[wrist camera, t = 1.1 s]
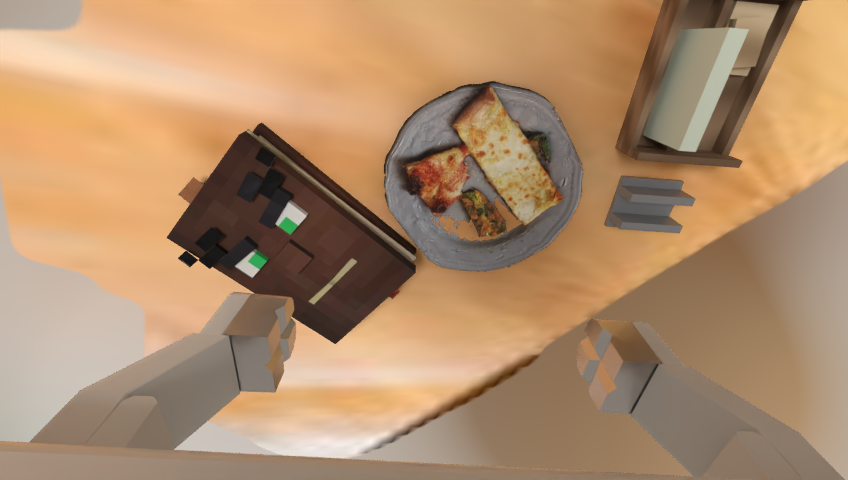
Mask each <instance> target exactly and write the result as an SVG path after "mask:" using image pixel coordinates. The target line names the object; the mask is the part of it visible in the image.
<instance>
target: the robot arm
mask: <svg viewBox="0 0 848 480" xmlns="http://www.w3.org/2000/svg"><path fill="white" fill-rule="evenodd" d="M293 312H294V302H293V299H292V298H291V297H285V296H274V295H264V294H251V293H239V292H234V293H231V294H230V295H229V296H228V297H227V298H226V300H225V301H224V302H223V303H222V305H221V306H220V307H219V309H218V310H217V311H216V312H215V314H214V315H213V316H212V318H211V319H210V320H209V322H208V323H207V324H206V325H205V327H204V328H203V329H202V331H201V332H200V333H192V334H191V335H189V336H187V337H185V338H183V339H181V340H179V341H177V342H175V343H173V344H171V345H169V346H167V347H165V348H163V349H161V350H159V351H157V352H155V353H153V354H151V355H149V356H147V357H145V358H143V359H141V360H139V361H137V362H135V363H133V364H131V365H129V366H127V367H126V368H123V369H122V370H120V371H118V372H116V373H114V374H112V375H110V376H108V377H106V378H104V379H102V380H100V381H98V382H96V383H94V384H92V385H90V386H88V387H86V388H84V389H82V390H80V391H79V392H78V393H77V394H76V395H75V396H74V397H73V398H72V399H71V400H70V401H69V402H68V403H67V404H66V405H65V406H64V408H62V410H60V411H59V412H58V413H57V415H55V417H53V419H52V420H51V421H50V422H49V423H48V424H47V425H46V426H45V427H44V428H43V429H42V430H41V431H40V432H39V433H38V434H37V435H36V436H35V437H34V438H33V439H32V440H31V441H30V442H29V443H27V442H6V441H0V480H845V479H844V478H843V477H842V476H841V475H840V474H839V473H838V472H836V470H835V469H834V468H833V467H832V466H831V465H830V464H829V463H828V462H827V461H826V460H825V459H824V458H823V457H822V456H821V455H820V454H819V453H818V452H817V451H816V450H815V449H814V448H813V447H812V446H811V444H809V442H808V441H807V440H806V439H805V438H804V437H803V436H802V435H801V434H800V433H799V432H797V431H795V430H794V429H792V428H790V427H788V426H787V425H785V424H784V423H782V422H780V421H779V420H777V419H775V418H774V417H772V416H771V415H769V414H767V413H766V412H764V411H762V410H761V409H759V408H757V407H756V406H754V405H752V404H751V403H749V402H748V401H746V400H744V399H742V398H741V397H739V396H738V395H736V394H734V393H733V392H731V391H729V390H728V389H726V388H724V387H723V386H721V385H719V384H718V383H716V382H714V381H713V380H711V379H710V378H708V377H706V376H705V375H703V374H701V373H700V372H698V371H697V370H695V369H693V368H692V367H689V366H684V365H683V364H682V363H681V361H680V360H679V359H678V358H677V357H676V355H675V354H674V353H673V352H672V351H671V350H670V348H669V347H668V346H667V344H666V343H665V342H664V341H663V340H662V338H661V337H660V336H659V335H658V334H657V332H656V331H655V330H654V329H653V328H652V326H651V325H649V324H648V323H646V322H634V321H627V322H623V321H609V320H594V319H591V320H590V321H589V322H588V324H587V326H586V328H585V332H586V334H587V338H585V339H584V340H583V341H581V342H580V343H579V346H578V349H577V366H578V369H579V372H580V374H581V376H582V377H583V378H584V379H585V380H587V381H588V382H589V383H590V387H589V393H590V395H591V397H592V399H593V401H594V403H595V405H596V407H597V409H598V411H599V412H607V413H619V414H631V417H632V418H633V419H634V420H635V421H636V422H637V423H638V424H639V425H640V426H641V427H642V428H643V429H645V430H646V431H647V432H648V433H649V434H650V435H651V436H652V437H653V438H654V439H655V440H656V441H657V442H658V443H659V444H660V445H662V447H663V448H664V449H666V450H667V451H668V452H669V453H670V454H671V455H672V456H673V457H674V458H675V459H676V460H677V461H678V462H679V463H680V464H681V465H682V466H684V467H685V468H686V469H687V470H688V471H689V472H690V473H691V474H692V475H693V477H692V476H674V475H655V474H635V473H616V472H594V471H576V470H555V469H536V468H517V467H496V466H478V465H459V464H439V463H419V462H400V461H381V460H359V459H341V458H322V457H302V456H282V455H263V454H243V453H224V452H203V451H183V450H174V449H175V448H176V447H177V446H178V445H179V444H181V443H182V442H183V441H184V440H185V439H187V438H188V437H189V436H190V435H191V434H193V433H194V432H195V431H196V430H197V429H199V427H201V426H202V425H203V424H204V423H206V422H207V421H208V420H209V419H210V418H211V417H213V416H214V415H215V414H216V413H217V412H219V411H220V410H221V409H222V408H223V407H224V406H226V405H227V404H228V403H229V402H230V401H232V400H233V399H234V398H235V397H236V396H237V395H239V394H240V391H247V392H276V389H277V387H278V385H279V382H280V380H281V378H282V375H283V373H284V364H283V362H285V361H286V360H287V359H289V358H290V356H291V354H292V351H293V348H294V343H295V339H296V323H295V322H294V321H293V319H292V318H291V316H292V314H293Z"/></svg>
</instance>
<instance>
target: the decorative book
mask: <svg viewBox="0 0 848 480" xmlns="http://www.w3.org/2000/svg"><path fill="white" fill-rule="evenodd" d="M179 195H180V196H181V197H182V198H184V199H185V200H186V201H187V202H189V203H190V205H189V206H188V208H187V209H186V211H185V212H184V214H183V215H182V216H181V218H180V219H179V221H178V222H177V224H176V225H175V226H174V228H173V229H172V231H171V232H170V233H169V235H168V236H167V238H168V239H169V240H171V241H173V242H174V243H176V244H177V245H179V246H181V247H182V248H184V249H185V250H187V251H189V252H190V253H192V254H193V255H195V256H196V257H198V258H200V259H199V261H200V262H201V263H203V264H204V265H205V266H206V267H208V268H209V269H210V268H211V267H214V268H215V269H217V270H219V271H220V272H222V273H223V274H225V275H227V276H228V277H230V278H231V279H233V280H234V281H236V282H238V283H239V284H241V285H242V286H244V287H246V288H247V289H249V290H250V291H252V292H254V293H255V294H264V295H274V296H285V297H291V298H292V299H293V302H294V312H293V314H292V317H293V318H295V319H296V320H298V321H300V322H301V323H303V324H304V325H306V326H307V327H309V328H311V329H312V330H314V331H315V332H317V333H319V334H320V335H322V336H323V337H325V338H326V339H328V340H330V341H331V342H333V343H334V344H336V343H337V342H338V341H340V340H341V339H342V338H343V337H344V336H345V335H346V334H347V333H348V332H350V331H351V330H352V329H353V328H354V327H355V326H356V325H357V324H359V323H360V322H361V321H362V320H363V319H364V318H365V317H366V316H368V315H369V314H370V313H371V312H372V311H373V310H374V309H375V308H376V307H378V306H379V305H380V304H381V303H382V302H383V301H384V300H385V299H387V298H388V297H391V298H392V299H393V298H394V297H395V296H396V295H397V294H398V293H399V292H400V291H398V290H397V289H398V288H399V287H400V286H401V285H402V284H403V283H404V282H406V281H407V280H408V279H409V278H410V277H411V276H412V275H413V274H415V273H416V265H414V264H413V263H412V262H413V261H414V260H415V259H416V258H417V257H415V256H414V254H415V253H416V248H415V247H414V246H413V245H412V244H410V243H409V242H408V241H407V240H405V239H404V238H403V237H402V236H401V235H399V234H398V233H397V232H396V231H394V230H393V229H392V228H391V227H389V226H388V225H387V224H386V223H385V222H383V221H382V220H381V219H380V218H378V217H377V216H376V215H375V214H374V213H372V212H371V211H370V210H369V209H367V208H366V207H365V206H364V205H362V204H361V203H360V202H359V201H358V200H356V199H355V198H354V197H353V196H351V195H350V194H349V193H348V192H346V191H345V190H344V189H343V188H342V187H340V186H339V185H338V184H337V183H335V182H334V181H333V180H332V179H330V178H329V177H328V176H327V175H326V174H324V173H323V172H322V171H321V170H319V169H318V168H317V167H316V166H315V165H313V164H312V163H311V162H310V161H308V160H307V159H306V158H305V157H303V156H302V155H301V154H300V153H299V152H297V151H296V150H295V149H294V148H292V147H291V146H290V145H289V144H287V143H286V142H285V141H284V140H283V139H281V138H280V137H279V136H278V135H276V134H275V133H274V132H273V131H271V130H270V129H269V128H268V127H267V126H265V125H264V124H263V123H260V124H258V125H257V127H256V128H255V129H254V131H253V132H251V131H250V130H249V129H248V130H247V131H245V132H243V133H241V134H239V136H238V137H237V138H236V140H235V141H234V143H233V144H232V145H231V147H230V148H229V150H228V151H227V153H226V154H225V155H224V157H223V158H222V160H221V161H220V163H219V164H218V165H217V167H216V168H215V170H214V171H213V172H212V174H211V175H210V177H209V178H208V180H207V181H206V182H205V184H204V185H203V184H201V183H200V182H199V181H198V180H196V179H195V178H193V179H192V180H191V181H190V182H189V183H188V184H187V186H186V187H185V188H184V189H183V190H182V191H181V192H180V194H179ZM187 251H185V252H184V253H183V254H182V255H181V256H180V257H179V258H178V259H179V260H181V261H182V262H183V263H185V264H186V265H187V266H189V267H191V266H192V265H193V264H194V263H195V262H196V261H197V259H196V258H195V257H193V256H192V255H191V254H190V253H188V252H187Z"/></svg>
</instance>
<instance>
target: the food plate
mask: <svg viewBox="0 0 848 480" xmlns="http://www.w3.org/2000/svg"><path fill="white" fill-rule="evenodd" d="M554 108H555V107H554V106H553V105H552V104H550V103H549V101H548V100H546V98H545V97H543V96H541V95H540V94H538V93H536V92H534V91H531V90H529V89H525V88H520V87H515V86H510V85H505V84H502V83H499V82H495V81H493V82H492V81H491V82H487V83H482V84H473V85H472V84H468V85H464V86H461V87H458V88H456V89H455V90H453V91H449V92H447V93H445V94H443V95H442V96H439V97H438V98H435V99H433V100H431V101H430V102H428V103H427V104H425V105H424V106H422V107H420V108H419V109H418V110H416V111H415V112H414V113H413V114H412V116H410V117H409V118H408V119H407V120H406V121H405V123H404V124H403V126H402V127H401V129H400V130H399V133H398V135H397V138H396V140H395V141H394V144H393V146H392V148H391V150H390V151H389V153H388V154H387V156H386V159H385V164H384V174H385V175H386V176H385V180H384V187H385V190H386V193H385V197H386V198H385V199H386V202H387V204H388V208H389V210H390V212H391V213H392V214H393V216H394V217H395V219H396V220H397V221H398V223H399V224H400V225H401V226H402V228H403V229H404V230H405V231H406V233H407V234H408V236H409V237H410V238H411V239H412V240H413V242H414V243H415V245H416V246H417V247H418V248H419V249H420V250H421V252H424V255H425V256H426V258H428V260H429V261H431V262H433V263H435V264H436V265H438V266H441V267H443V268H448V269H453V270H460V271H461V270H462V271H479V272H480V271H483V272H484V271H485V272H486V271H491V270H497V269H500V268H505V267H510V266H511V265H513V264H515V263H519V262H521V261H522V260H525V259H526V258H528V257H529V256H531V255H533V254H534V253H536V252H538V251H541V250H542V249H544V248H546V247H547V246H548V245H550V244H551V242H552V241H553V240H554V239H555V238H556V236H558V234H559V232H560V231H562V230H563V229H564V228H565V227H566V226H567V223H568V222H569V220H570V219H571V218H572V215H573V214H574V212H575V211H576V208H577V207H578V206H577V205H578V204H579V199H580V196H581V192H582V177H583V170H584V169H583V170H582V167H583V166H582V167H581V165H582V163H581V161H579V160H580V159H579V157H578V154H577V152H575V151H576V150H574V149H575V148H574V146H573V144H572V142H571V139H570V138H569V135H568V133H567V131H566V129H565V127H563V126H564V125H562V124H563V123H561V122H562V121H561V119H560V117H559V118H558V116H559V115H558V113H557V112H555V110H554ZM464 162H468V164H469V165H468V166H465V165H464ZM580 164H581V165H580ZM478 179H479V180H478ZM486 193H487V194H486ZM497 196H498V200H499V201H500V202H501V203H502V204H503V205H504V206H506V208H507V209H508V211H509V212H511V213H512V214H513V215H514V216H515V217H516V218H517V219H516V220H518V219H519V220H520V221H521V222H522V224H521V225H519V226H518V227H516V228H514V229H513V230H511V231H509V232H507V233H506V227H505V220H504V218H501V216H500V215H499V214H498V211H497V208H495V206H494V203H495V202H494V199H495V198H496V197H497ZM425 209H426V210H428V211H429V212H426V210H425ZM446 214H449V215H446ZM441 215H444V216H445V218H446V219H448V218H449V216H451V219H453V220H454V221H455V222H456V223H457V221H458V220H460V221H463V222H464V220H468V221H467V223H469V222H470V219H471V218H472V221H473V223H474V225H475V226H476V229H477V231H478V234H479V237H483V236H486V235H488V234H489V235H490V236H491V237H492V236H495V235H496V234H500V233H502V232H504V233H506V234H504V235H501V236H500V237H498V238H496V239H491V240H487V241H486V240H483V241H481V242H479V241H478V240H475V241H473V242H472V241H468V240H467V241H466V239H465V238H463V240H462V239H460V238H458V237H459V236H458V235H455V233H453V232H451V235H449V234H448V233H447V232H448V231H449V230H450V229H449V230H448V231H446V230H444V229H443V228H442V226H444V224H442V226H440V222H439V221H438V220H439V219H440V217H441ZM457 215H459V216H457ZM431 217H433V219H435V220H433V219H431ZM436 217H438V218H436ZM422 219H423V220H424V221H423V220H422ZM432 221H433V222H436V223H438V226H440V227H441V228H438V227H437V226H436V225H435V223H432ZM457 225H459V224H457ZM457 225H455V223H454V227H456V229H457V228H458V227H457ZM470 227H471V226H470Z"/></svg>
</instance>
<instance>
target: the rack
mask: <svg viewBox="0 0 848 480" xmlns="http://www.w3.org/2000/svg"><path fill="white" fill-rule="evenodd" d="M733 1H743V2H753V3H763V4H773V5H779V7H778V10H777V12H776V14H775V16H774V18H773V21H772V23H771V25H770V27H769V29H768V31H767V34H766V37H765V40H764V43H763V46H762V49H761V51H760V54H759V57H758V60H757V63H756V66H755V67H751V69H750V71H749V73H748V75H747V76H742V75H731V74H729V77H728V79H727V81H726V84H725V86H724V88H723V90H722V93H721V95H720V97H719V100H718V102H717V104H716V106H715V109H714V111H713V113H712V116H711V118H710V120H709V123H708V125H707V127H706V129H705V132H704V134H703V136H702V139H701V141H700V143H699V145H698V148H697V150H696V152H689V151H678V150H676V149H674V148H671V147H669V146H667V145H664V144H662V143H660V142H657V141H655V140H653V139H651V138H648V137H646V136H644V135H643V133H644V130H645V127H646V124H647V121H648V119H649V116H650V113H651V110H652V108H653V105H654V102H655V99H656V96H657V94H658V91H659V88H660V85H661V82H662V80H663V77H664V74H665V71H666V69H667V66H668V63H669V60H670V57H671V55H672V52H673V49H674V46H675V44H676V41H677V38H678V35H679V32H680V30H681V29H704V28H723V26H724V24H725V21H726V19H727V16H728V14H729V11H730V9H731V6H732V4H733ZM802 1H806V0H664V2H663V5H662V8H661V11H660V14H659V17H658V20H657V23H656V26H655V29H654V32H653V35H652V38H651V41H650V44H649V47H648V50H647V53H646V56H645V59H644V62H643V65H642V68H641V71H640V75H639V78H638V81H637V84H636V87H635V90H634V93H633V96H632V99H631V102H630V105H629V108H628V111H627V114H626V117H625V120H624V123H623V126H622V129H621V132H620V135H619V138H618V141H617V144H616V147H615V148H617V149H618V150H620V151H622V152H624V153H626V154H627V155H629V156H631V157H633V158H635V159H636V160H646V161H659V162H672V163H684V164H697V165H710V166H723V167H735V168H739V167H740V165H741V163H742V160H739V159H736V158H734V157H731V156H728V155H729V153H730V151H731V149H732V147H733V145H734V143H735V141H736V138H737V136H738V134H739V132H740V130H741V128H742V126H743V124H744V122H745V120H746V118H747V116H748V114H749V111H750V109H751V107H752V105H753V103H754V101H755V99H756V97H757V95H758V93H759V91H760V89H761V87H762V84H763V82H764V80H765V78H766V76H767V74H768V72H769V70H770V68H771V66H772V64H773V62H774V60H775V58H776V55H777V53H778V51H779V49H780V47H781V45H782V43H783V41H784V39H785V37H786V35H787V33H788V31H789V28H790V26H791V24H792V22H793V20H794V18H795V16H796V14H797V12H798V10H799V8H800V6H801V4H802Z"/></svg>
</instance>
